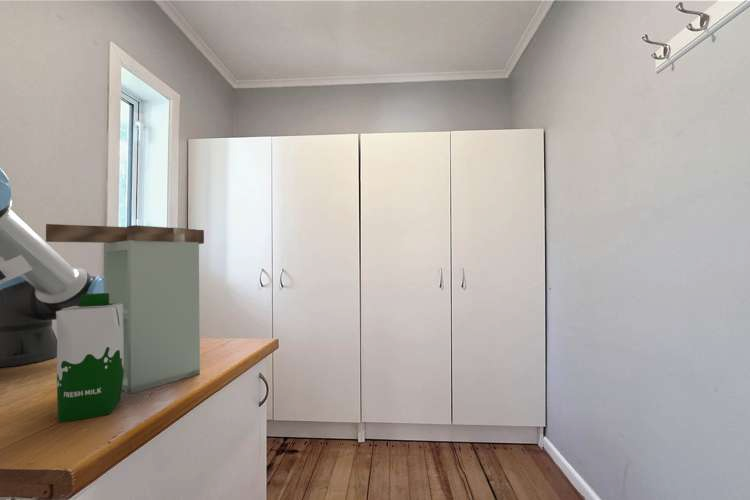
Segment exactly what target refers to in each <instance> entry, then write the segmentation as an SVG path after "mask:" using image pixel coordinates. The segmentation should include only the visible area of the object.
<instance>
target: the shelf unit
mask: <svg viewBox="0 0 750 500" xmlns="http://www.w3.org/2000/svg"><path fill="white" fill-rule="evenodd" d="M103 277H104V293H109V304H113V303H115V304H123V332H124V373H123V384H122V392H126V393H129V394H130V395H131V394H135V393H138V392H141V391H145V390H149V389H151V388H155V387H159V386H163V385H167V384H169V383H173V382H176V381H180V380H185V379H187V378H191V377H194V376H198V375H200V374H201V373H200V372H201V371H200V370H201V369H200V367H201V365H200V364H201V363H200V360H201V358H200V356H201V340H200V339H201V337H200V335H201V334H200V333H199V326H200V244H199V243H197V242H166V241H134V240H130V241H121V242H112V243H103Z"/></svg>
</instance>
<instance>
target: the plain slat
mask: <svg viewBox="0 0 750 500" xmlns="http://www.w3.org/2000/svg"><path fill="white" fill-rule="evenodd" d="M121 241H127V226H108V225H107V226H106V225H85V224H84V225H81V224H80V225H79V224H78V225H77V224H57V223H55V224H54V223H46V224H45V242H46V243H96V244H97V243H98V244H99V243H101V244H102V243H103V244H104V243H112V242H121ZM196 242H197V243H199V245H203V244H205V230H204V229H196Z"/></svg>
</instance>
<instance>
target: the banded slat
mask: <svg viewBox="0 0 750 500" xmlns="http://www.w3.org/2000/svg"><path fill="white" fill-rule="evenodd" d="M126 227H127V241H130V240H134V241H166V242H196V230H197V229H196V228H195V229H194V228H184V227H166V226H154V225H153V226H152V225H149V226H148V225H139V224H138V225H135V224H133V225H128V226H127V225H126Z"/></svg>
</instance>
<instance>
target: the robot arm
mask: <svg viewBox="0 0 750 500" xmlns="http://www.w3.org/2000/svg"><path fill="white" fill-rule="evenodd" d="M8 183H10V179H9V177H8V176H7V174H6V173H5V172H4V170H3V169H2V168H1V167H0V368H2V367H12V366H13V367H14V366H21V365H28V364H33V363H34V364H35V363H37V362H43V361H47V360H50V359H53V358H57V336H56V334H55V331H54V329H53V321H57V319H56V312H57V311H60V310H61V309H64V308H69V307H72V306H81V295H84V294H97V293H104V276H100V275H95V276H93V275H90V273H88V272H87V271H86V270H85V269H84V268H83V267H81V266H79V265H74V264H70V263H68V262H67V261H66V260H65V258H63V256H61V255H60V254H59V253H58V252H57V251H56V250H55V249H53V248H52V247H51V246H50V245H49V244H48V242H46V240H44V239H43V238H42V237H41V236H40V235H39V234H37V232H35V230H33V229H32V228H31V227H30V226H29V225H28V224H27V223H26V222H25V221H24V220H23V219H22V218H21V217H20V216H18V215H17V214H16V213H15V212H14V211H13V210H12V209H11V208H12V204H13V200H12V197H13V196H12V194H13V188H12V186H10V185H8Z"/></svg>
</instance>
